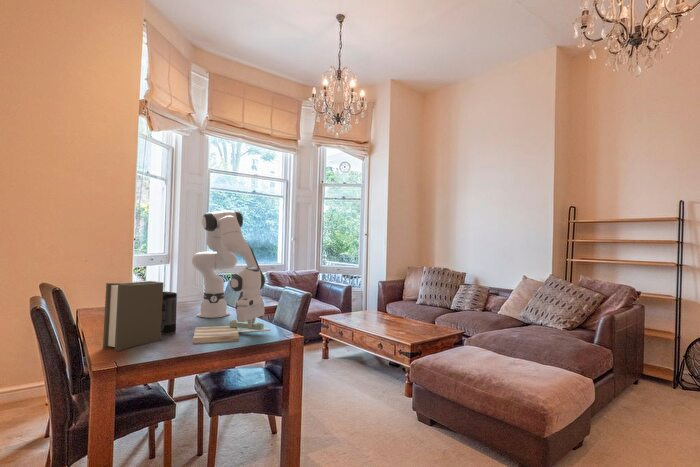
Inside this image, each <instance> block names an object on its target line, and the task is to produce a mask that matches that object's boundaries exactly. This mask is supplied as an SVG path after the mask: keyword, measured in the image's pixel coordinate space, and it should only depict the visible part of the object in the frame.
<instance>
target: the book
mask: <svg viewBox="0 0 700 467" xmlns="http://www.w3.org/2000/svg"><path fill="white" fill-rule="evenodd" d="M105 284H106V285H105V301H104V303H105V304H104V317H103V318H104V320H103V337H102V340H103V341H102V349H104V350H106V349H108V348H111V347H113V348H114V352H115V353H116V352H117V353H118V352H121V351H123V350H126V349H129V348H132V347H136V346H140V345H144V344H149V343H153V342H158V341H161V339H162V336H161V335H162V334H161V320H162V301H163V292H164V282H163V281H156V280H155V281H154V280H146V281H136V282H135V281H133V282H123V283H121V282H119V283H117V282H106V283H105Z"/></svg>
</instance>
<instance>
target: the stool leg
mask: <svg viewBox="0 0 700 467" xmlns="http://www.w3.org/2000/svg"><path fill="white" fill-rule="evenodd" d="M229 326H230V327H237V328H238V329H254V330H262V329H264V328H265V327H264V323H259V322H258V323H257V322H255V323H254V327H252V328H249V324H248V322H247V321H245V322H238V320H237V319H232V320H231V321H230V322H229Z"/></svg>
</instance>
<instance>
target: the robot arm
mask: <svg viewBox="0 0 700 467" xmlns="http://www.w3.org/2000/svg"><path fill="white" fill-rule="evenodd" d="M201 223H202V227H203V229H204V230H205V231H206V246H207V247H208V248H209V249H211V250H212V251H200V252H196V253H195V254H194V255H193V256H192V259H191V263H192V267H193V268H195V269H196V270H197V271H198V272H199V273H200V275H201V276H202V278H203V282H204V283H203V284H204V292H203V295H202V296H203V300H201V302H200V308H199V310H200V312H199V313H197V314H196V317H201V318H211V319H213V318H216V319H217V318H222V317H226V316H230V315H231V314H230V312H229V311H228V310H227V309H228V308H227V304H228V303H227V300H226V299H225V290H224V288H225V285H224V284H225V282H224V281H225V280H224V278H223V277H221V276H220V275H218V274H216V273H215V272H214V270H217V271H218V270H219V271H220V270H221V271H222V270H225V271H226V270H231V269H234V268H235V267H236V265H237V264H238V263H237V262H238V259H237V256H236V255H238V256H239V257H241V258H242V259H243V260H244V261H245V264H246V266H245V267H244V268H243V270H242V271H239V272H237V273H234V274H232V276H231V277H230V282H229V283H230V284H229V285H230V288H231V289H232V290H233V291H234V292H242V296H241V297H240V298H239V299H238V300H237V301H236V306H237V308H236V321H238V322H248V324H249V328H252V327H254V323H256V318H259V317H261V316H264V315H265V302H264V299H263V298H262V292H261V290H262V289H263V288H264V287H265V284H266V278H265V275H264V274H263V272H262V270H261V268H260V265H259V263H258V261H257V258H256V255H255V252H254V251H253V249H252V247H251V245H250V244H248V243H247V242H246V240H245V239H244V236H243V232H242V229H241V228H242V226H243V225H244V217H243V214H242V212H240V211H238V210H219V211H213V212H206V213H204V214H203V215H202V219H201Z"/></svg>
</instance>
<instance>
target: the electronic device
mask: <svg viewBox="0 0 700 467" xmlns="http://www.w3.org/2000/svg"><path fill="white" fill-rule="evenodd" d="M177 298H178V293H177V292H174V291H173V292H172V291H163V301H162V320H161V335H167V336H169V335H174V334H176V332H177V304H178V303H177V302H178V299H177Z"/></svg>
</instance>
